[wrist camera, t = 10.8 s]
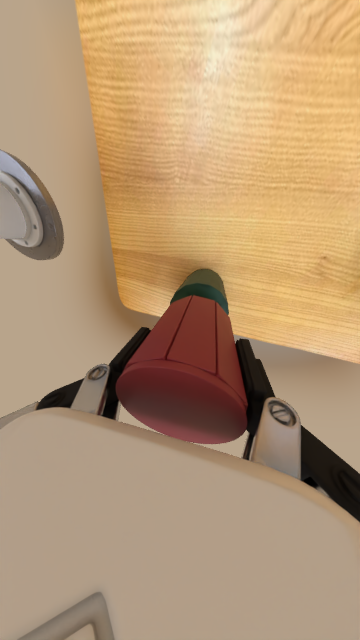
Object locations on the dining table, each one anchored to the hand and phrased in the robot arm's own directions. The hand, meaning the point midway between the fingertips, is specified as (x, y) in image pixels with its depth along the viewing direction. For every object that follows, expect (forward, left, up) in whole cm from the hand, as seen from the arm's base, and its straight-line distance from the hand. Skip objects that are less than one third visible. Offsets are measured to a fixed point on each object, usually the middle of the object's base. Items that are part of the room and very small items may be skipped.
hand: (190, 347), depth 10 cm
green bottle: (0, 0, -16) cm, 16 cm away
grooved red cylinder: (0, 0, -3) cm, 3 cm away
